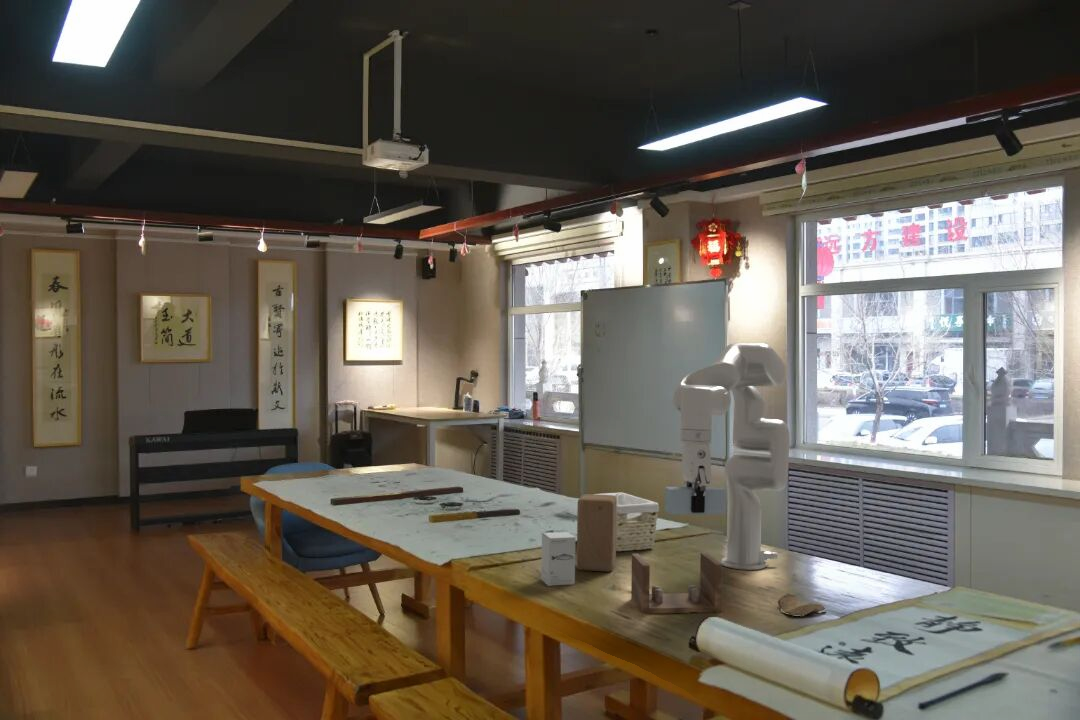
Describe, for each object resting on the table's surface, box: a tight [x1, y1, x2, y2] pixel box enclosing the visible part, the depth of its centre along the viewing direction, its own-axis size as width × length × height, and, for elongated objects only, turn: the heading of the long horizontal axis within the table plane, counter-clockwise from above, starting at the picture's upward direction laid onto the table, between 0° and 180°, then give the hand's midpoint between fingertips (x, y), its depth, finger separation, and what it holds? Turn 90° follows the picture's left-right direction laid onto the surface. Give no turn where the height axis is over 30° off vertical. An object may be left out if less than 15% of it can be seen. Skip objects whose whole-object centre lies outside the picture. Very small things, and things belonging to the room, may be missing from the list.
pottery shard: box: [777, 593, 826, 616], centre depth 206 cm, size 11×4×10 cm
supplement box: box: [540, 531, 577, 587], centre depth 229 cm, size 7×7×13 cm
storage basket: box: [595, 491, 660, 552], centre depth 276 cm, size 24×16×15 cm
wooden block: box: [576, 493, 617, 573], centre depth 245 cm, size 10×10×20 cm
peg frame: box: [630, 552, 723, 614], centre depth 209 cm, size 19×12×11 cm, turn 96°
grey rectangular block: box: [663, 486, 727, 515], centre depth 213 cm, size 14×5×6 cm, turn 97°
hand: (694, 509), depth 213 cm, fingers closed on grey rectangular block, 5 cm apart
